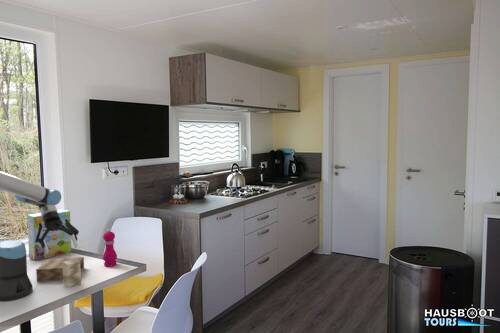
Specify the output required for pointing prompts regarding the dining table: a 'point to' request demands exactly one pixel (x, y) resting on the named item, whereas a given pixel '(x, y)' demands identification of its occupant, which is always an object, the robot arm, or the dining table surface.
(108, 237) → the pepper mill
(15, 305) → the dining table surface
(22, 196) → the robot arm
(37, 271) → the brown wooden slab
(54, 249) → the snack box
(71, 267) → the birch block
